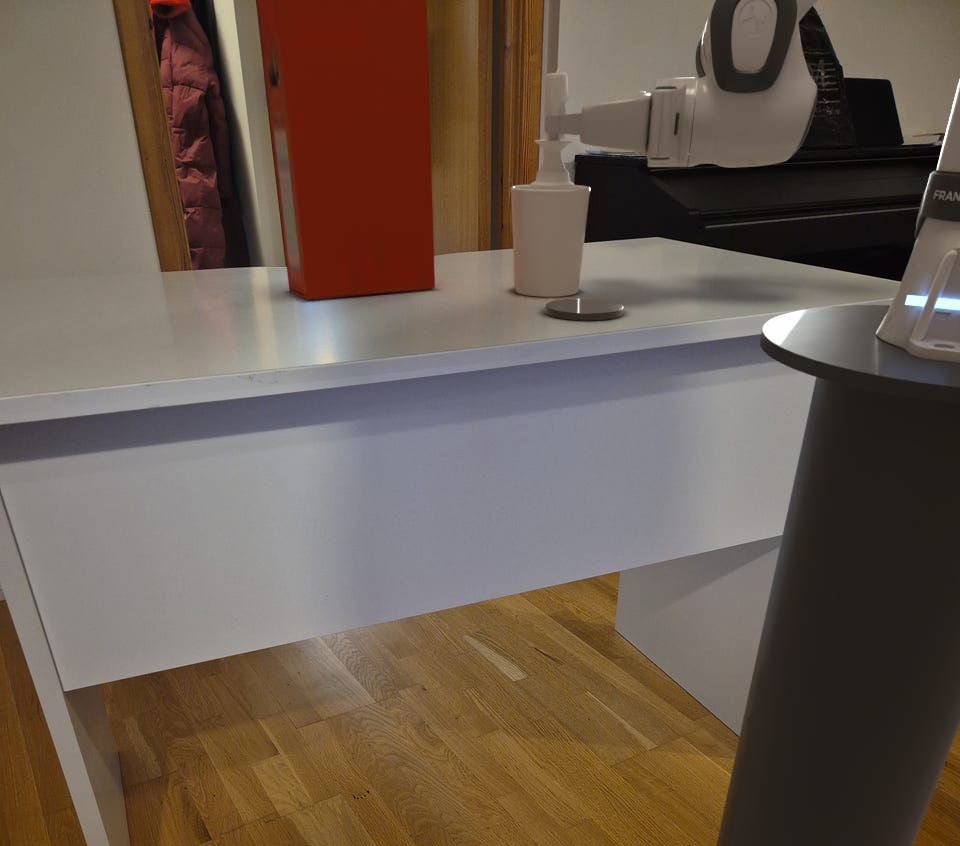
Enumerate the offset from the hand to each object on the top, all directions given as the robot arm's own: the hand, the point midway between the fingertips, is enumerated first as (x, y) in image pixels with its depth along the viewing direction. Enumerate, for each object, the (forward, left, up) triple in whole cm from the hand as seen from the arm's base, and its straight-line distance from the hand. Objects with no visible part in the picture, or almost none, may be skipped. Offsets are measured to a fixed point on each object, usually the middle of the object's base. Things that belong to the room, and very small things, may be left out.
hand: (547, 124), depth 99 cm
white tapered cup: (-1, 0, -19) cm, 19 cm away
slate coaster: (-13, +8, -19) cm, 24 cm away
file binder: (+17, +16, -19) cm, 30 cm away
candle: (-1, 0, -7) cm, 7 cm away
